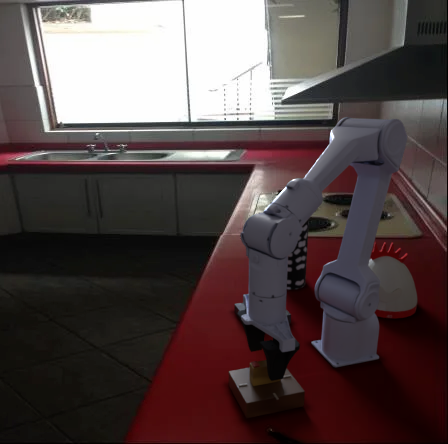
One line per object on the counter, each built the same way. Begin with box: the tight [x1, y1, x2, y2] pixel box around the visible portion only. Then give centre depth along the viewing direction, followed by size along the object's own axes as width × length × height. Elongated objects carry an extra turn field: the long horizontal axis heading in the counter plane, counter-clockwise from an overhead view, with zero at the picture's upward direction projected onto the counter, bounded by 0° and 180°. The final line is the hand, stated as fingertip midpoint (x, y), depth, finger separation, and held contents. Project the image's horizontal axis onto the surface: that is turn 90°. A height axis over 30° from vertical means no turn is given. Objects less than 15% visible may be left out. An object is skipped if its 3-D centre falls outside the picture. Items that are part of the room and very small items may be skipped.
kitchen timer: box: [368, 241, 418, 319], centre depth 95 cm, size 14×14×15 cm
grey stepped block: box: [233, 302, 292, 324], centre depth 93 cm, size 10×8×4 cm
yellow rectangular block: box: [249, 359, 281, 386], centre depth 69 cm, size 5×2×4 cm, turn 102°
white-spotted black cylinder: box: [287, 218, 310, 290], centre depth 107 cm, size 8×8×20 cm
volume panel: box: [228, 366, 306, 419], centre depth 70 cm, size 10×9×3 cm
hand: (265, 363), depth 69 cm, fingers open, 7 cm apart
